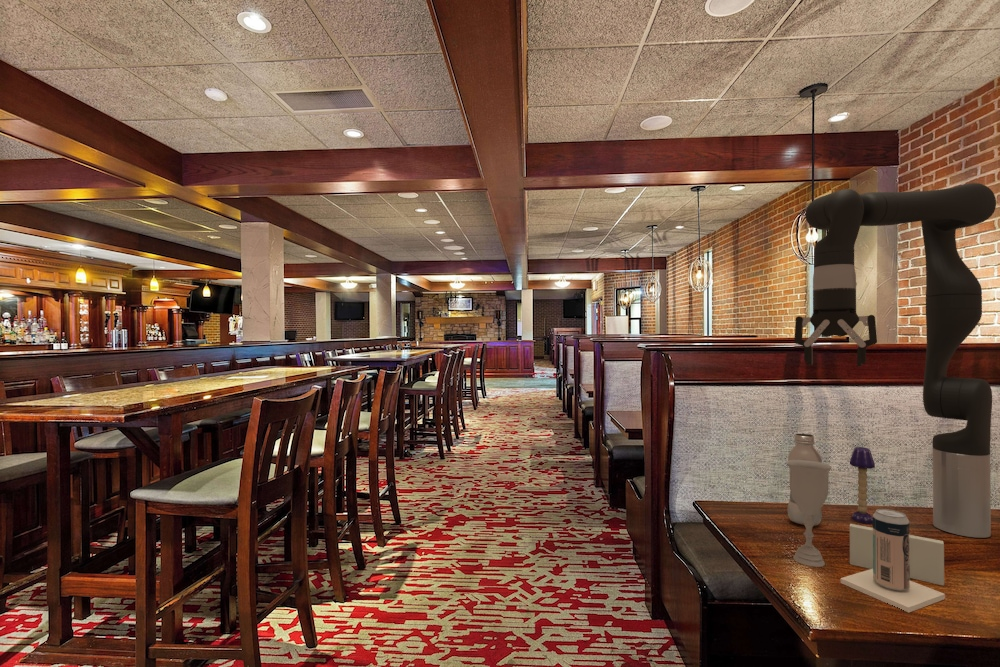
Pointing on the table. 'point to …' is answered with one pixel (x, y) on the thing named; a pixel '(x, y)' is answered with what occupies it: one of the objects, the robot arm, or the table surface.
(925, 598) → the tile
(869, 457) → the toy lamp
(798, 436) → the plastic bottle
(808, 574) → the table surface
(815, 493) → the chalice
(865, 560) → the partition
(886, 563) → the beer can
